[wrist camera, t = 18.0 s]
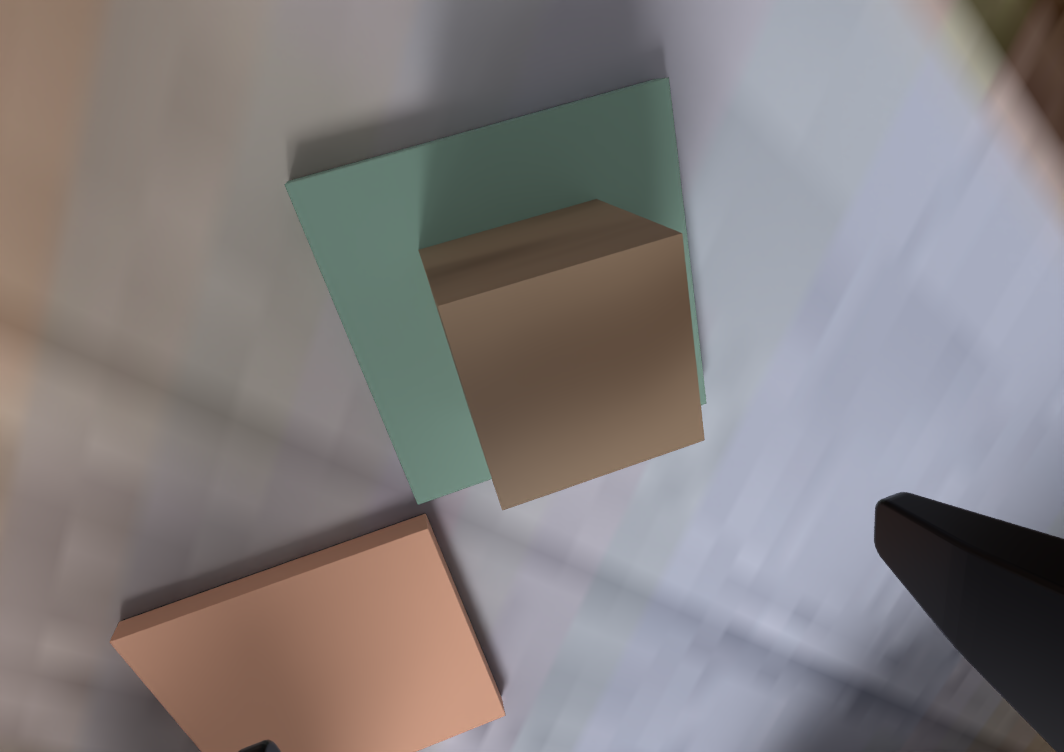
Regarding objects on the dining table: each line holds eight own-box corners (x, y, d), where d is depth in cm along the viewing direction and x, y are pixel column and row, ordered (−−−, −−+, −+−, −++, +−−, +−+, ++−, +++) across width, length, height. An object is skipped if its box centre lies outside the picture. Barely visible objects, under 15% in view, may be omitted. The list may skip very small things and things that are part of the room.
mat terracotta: (501, 697, 24) (505, 715, 24) (259, 794, 23) (255, 816, 22) (425, 513, 20) (427, 528, 19) (119, 621, 19) (109, 642, 18)
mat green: (694, 393, 21) (706, 403, 20) (416, 490, 19) (417, 504, 19) (655, 78, 16) (668, 77, 15) (288, 180, 15) (284, 184, 14)
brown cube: (623, 360, 18) (704, 440, 14) (469, 410, 18) (502, 510, 13) (596, 199, 16) (682, 232, 12) (418, 249, 16) (437, 305, 11)
